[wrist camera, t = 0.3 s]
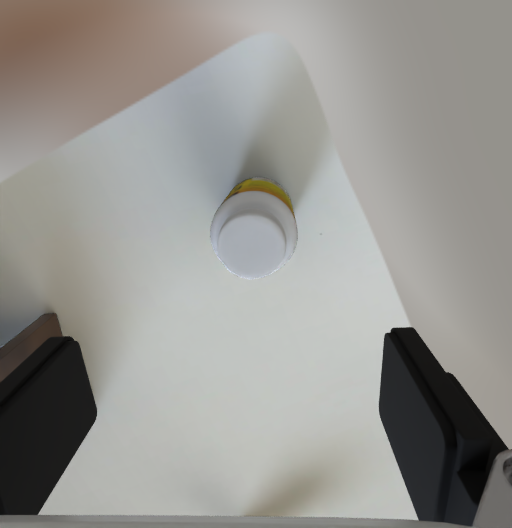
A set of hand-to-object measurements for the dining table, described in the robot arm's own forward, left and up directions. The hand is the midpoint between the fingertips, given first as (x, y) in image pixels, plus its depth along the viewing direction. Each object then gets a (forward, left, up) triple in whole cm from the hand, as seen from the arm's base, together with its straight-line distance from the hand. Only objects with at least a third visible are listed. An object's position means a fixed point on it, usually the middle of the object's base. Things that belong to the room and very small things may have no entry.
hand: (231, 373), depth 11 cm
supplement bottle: (-1, 0, -21) cm, 21 cm away
